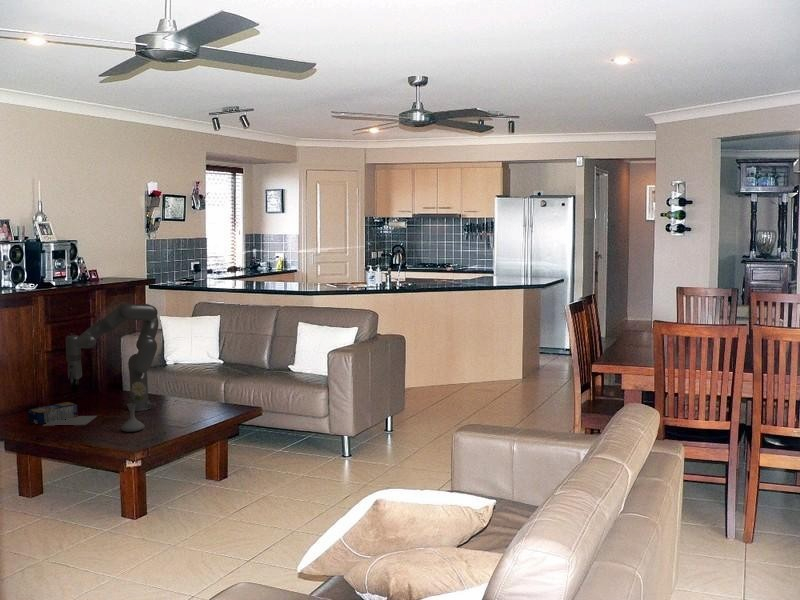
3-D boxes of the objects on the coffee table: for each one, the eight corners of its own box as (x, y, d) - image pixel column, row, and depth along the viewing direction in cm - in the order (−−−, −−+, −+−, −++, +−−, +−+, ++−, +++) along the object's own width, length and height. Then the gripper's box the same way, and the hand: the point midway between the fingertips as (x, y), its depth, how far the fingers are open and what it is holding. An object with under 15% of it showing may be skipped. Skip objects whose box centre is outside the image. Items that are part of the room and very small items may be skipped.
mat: (97, 416, 459) (97, 415, 459) (85, 425, 439) (85, 424, 439) (56, 417, 458) (56, 416, 458) (42, 426, 438) (42, 425, 438)
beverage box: (77, 416, 457) (37, 425, 441) (68, 413, 464) (28, 422, 448) (77, 404, 456) (37, 412, 440) (67, 401, 464) (27, 409, 448)
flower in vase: (122, 434, 419) (120, 385, 417) (120, 429, 430) (117, 381, 427) (149, 431, 424) (147, 382, 422) (146, 426, 435) (144, 379, 433)
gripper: (76, 360, 449) (77, 394, 450) (85, 355, 463) (86, 388, 465) (62, 360, 448) (63, 394, 450) (71, 356, 463) (73, 389, 465)
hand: (75, 391), depth 458 cm, fingers closed
